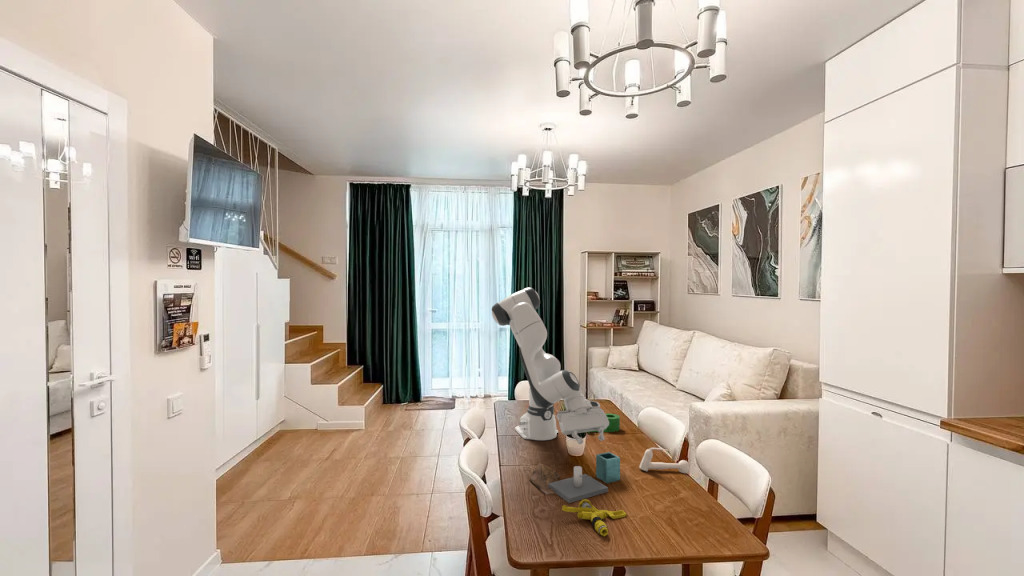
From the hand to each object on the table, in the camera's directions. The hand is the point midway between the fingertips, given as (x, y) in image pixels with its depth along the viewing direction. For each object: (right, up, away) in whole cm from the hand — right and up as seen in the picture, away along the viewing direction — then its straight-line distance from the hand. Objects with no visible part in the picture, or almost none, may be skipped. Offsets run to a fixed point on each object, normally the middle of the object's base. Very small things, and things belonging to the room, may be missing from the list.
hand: (591, 441), depth 160 cm
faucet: (+27, -11, 0) cm, 30 cm away
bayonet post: (-8, -11, -15) cm, 20 cm away
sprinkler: (-5, -11, -35) cm, 37 cm away
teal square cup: (+5, -11, -6) cm, 14 cm away
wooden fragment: (-18, -11, -6) cm, 22 cm away
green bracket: (+14, -12, +48) cm, 52 cm away
